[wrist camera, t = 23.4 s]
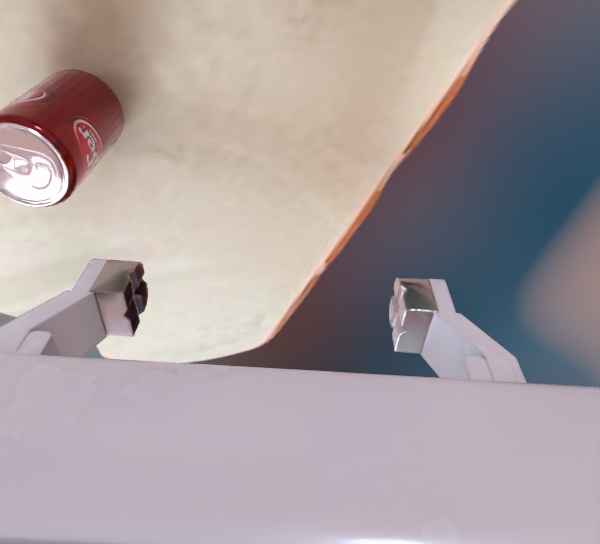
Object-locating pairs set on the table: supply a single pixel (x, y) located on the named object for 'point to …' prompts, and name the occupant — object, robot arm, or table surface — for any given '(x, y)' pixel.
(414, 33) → the table surface
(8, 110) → the soda can
